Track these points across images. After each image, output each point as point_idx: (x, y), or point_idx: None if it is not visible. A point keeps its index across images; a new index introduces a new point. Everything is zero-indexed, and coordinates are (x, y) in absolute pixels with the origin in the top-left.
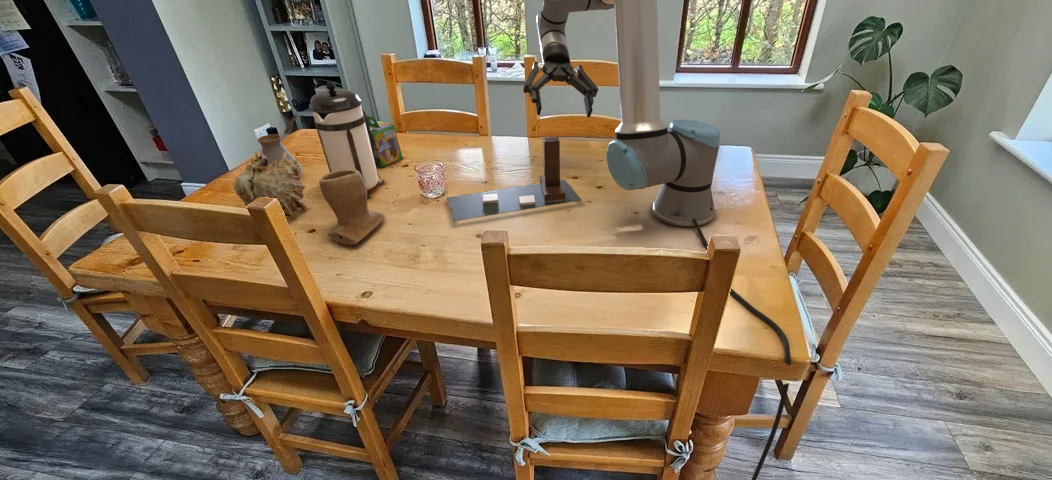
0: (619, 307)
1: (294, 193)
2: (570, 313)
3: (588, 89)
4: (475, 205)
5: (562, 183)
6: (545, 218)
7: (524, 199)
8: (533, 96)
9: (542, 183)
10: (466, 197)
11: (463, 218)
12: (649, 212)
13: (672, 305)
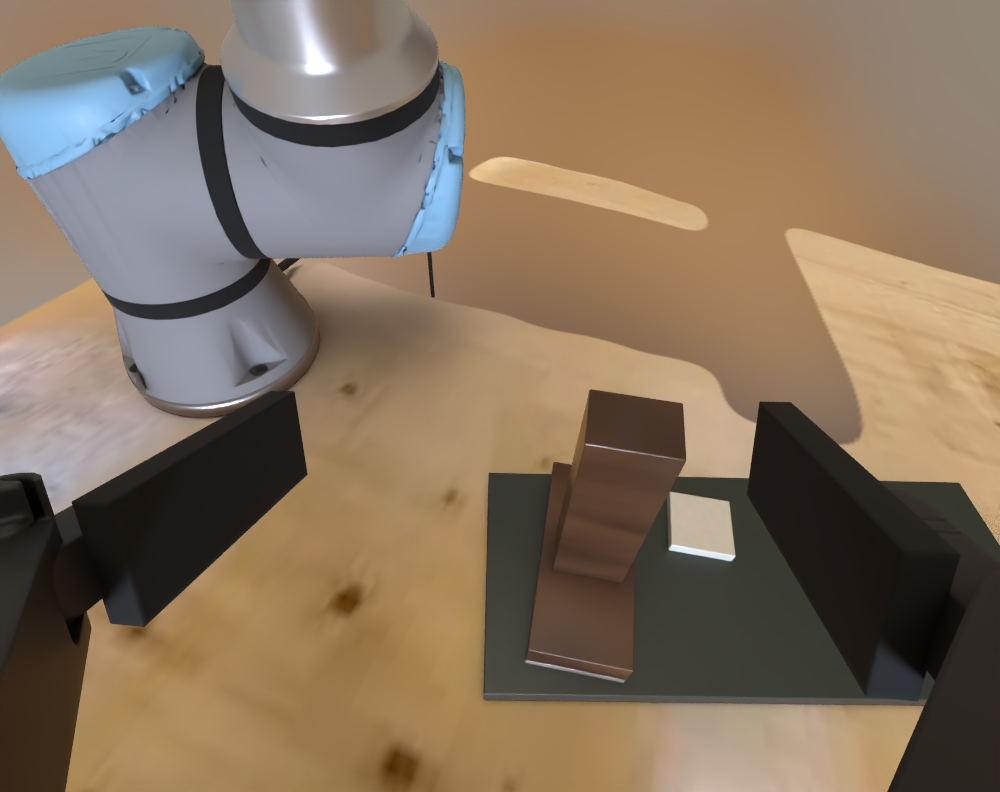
0: (558, 191)
1: None
2: (636, 199)
3: (23, 534)
4: None
5: (510, 647)
6: None
7: (711, 522)
8: (920, 513)
9: (630, 575)
10: None
11: (930, 489)
12: (311, 381)
13: (479, 178)
